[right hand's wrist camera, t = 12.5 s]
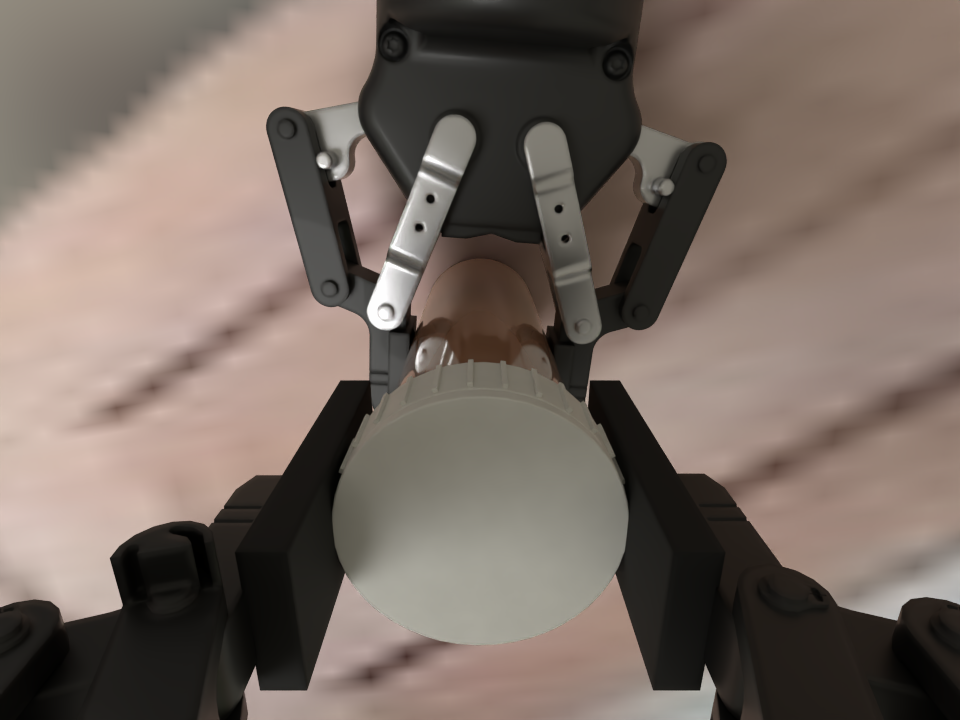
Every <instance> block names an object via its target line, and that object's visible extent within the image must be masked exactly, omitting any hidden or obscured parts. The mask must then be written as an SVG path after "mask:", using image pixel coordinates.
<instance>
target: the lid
mask: <svg viewBox="0 0 960 720" xmlns="http://www.w3.org/2000/svg"><path fill="white" fill-rule="evenodd" d="M339 473H341V474H342V475H341V478H340V480H339V483H338V486H337V489H336V492H335V495H334V502H333V508H332V524H333V534H334V542H335V548H336V551H337V554H338V558H339V561H340V563H341V565H342V567H343V569H344V571H345V573H346V575H347V577H348V578H349V580H350V581H351V582H352V584H353V585H354V587H355V588H356V590H357V591H358V592H359V593H360V594H361V595H362V596H363V598H364V599H365V600H366V601H367V602H368V603H369V604H371V605H372V606H373V607H374V608H375V609H376V610H377V611H379V612H380V613H381V614H383V615H384V616H386V617H387V618H389V619H390V620H391V621H393V622H395V623H397V624H398V625H400V626H402V627H404V628H406V629H408V630H410V631H413V632H415V633H418V634H420V635H423V636H425V637H429V638H433V639H436V640H440V641H444V642H450V643H456V644H465V645H497V644H504V643H512V642H516V641H520V640H525V639H529V638H532V637H535V636H538V635H541V634H543V633H546V632H548V631H550V630H553V629H555V628H557V627H559V626H561V625H563V624H564V623H566V622H568V621H569V620H571V619H572V618H574V617H576V616H577V615H578V614H579V613H581V612H582V611H583V610H585V609H586V608H587V607H588V606H590V604H591V603H592V602H593V601H594V600H595V599H596V598H597V597H598V596H599V595H600V594H601V593H602V592H603V590H604V589H605V588H606V587H607V585H608V584H609V583H610V581H611V580H612V578H613V576H614V574H615V573H616V571H617V569H618V567H619V565H620V562H621V560H622V557H623V554H624V552H625V545H626V537H627V528H628V518H629V509H628V501H627V497H626V493H625V489H624V485H623V484H625V479H624V477H623V475H622V473H621V470H620V468H619V466H618V464H617V461H616V459H615V454H614V452H613V449H612V447H611V445H610V443H609V441H608V438H607V436H606V434H605V432H604V429H603V427H602V425H601V424H598V425H596V423H595V421H594V420H593V418H592V416H591V414H590V412H589V409H588V407H587V405H586V403H585V402H584V401H582V402H581V403H580V402H579V401H578V400H577V399H576V398H575V397H574V396H572V395H571V394H570V393H569V392H568V391H567V390H566V389H565V386H564V384H563V383H561V382H559V384H556V383H555V382H553V381H552V380H550V379H548V378H546V377H544V376H542V375H540V374H538V373H537V370H536V369H533V368H532V369H531V371H529V370H526V369H523V368H520V367H516V366H511V365H507V364H506V361H500V363H489V362H474V360H473V359H470V360H468V363H461V364H455V365H449V366H445V367H442V365H441V364H440V365H437V366H436V369H434V370H431V371H429V372H426V373H424V374H422V375H419V376H417V377H415V378H413V377H412V376H410V377H408V378H407V381H406V383H405V384H403V385H401V386H400V387H398V388H397V389H396V390H394V391H393V392H392V393H391V394H388V393H385V394H384V395H383V397H382V399H381V402H380V404H379V405H378V406H377V407H376V408H375V409H374V411H373V412H372V414H371V415H368V414H366V415H365V417H364V419H363V421H362V423H361V426H360V428H359V430H358V433H357V435H356V437H355V439H354V438H353V440H352V442H351V445H350V447H349V449H348V451H347V454H346V456H345V458H344V460H343V463H342V465H341V467H340V469H339Z"/></svg>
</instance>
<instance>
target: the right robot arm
mask: <svg viewBox="0 0 960 720" xmlns="http://www.w3.org/2000/svg"><path fill="white" fill-rule="evenodd" d="M588 409H589V412H590V414H591V416H592V418H593V420H594V421H595V423H596V425H598V424H601V425H602V427H603V429H604V432H605V434H606V436H607V438H608V441H609V443H610V445H611V447H612V449H613V452H614V454H615V459H616V461H617V464H618V466H619V468H620V470H621V473H622V475H623V477H624V479H625V484H623V485H624V489H625V493H626V497H627V501H628V509H629V518H628V528H627V537H626V545H625V552H624V554H623V557H622V560H621V562H620V565H619V567H618V569H617V571H616V576H617V579H618V583H619V586H620V589H621V592H622V595H623V598H624V601H625V604H626V607H627V610H628V613H629V617H630V620H631V623H632V626H633V629H634V632H635V635H636V638H637V641H638V644H639V648H640V651H641V654H642V657H643V660H644V663H645V666H646V669H647V672H648V675H649V679H650V682H651V685H652V688H653V690H700V688H701V683H702V677H703V672H704V667H705V664H706V666H707V669H708V671H709V673H710V675H711V678H712V680H713V682H714V684H715V687H716V693H715V698H714V703H713V708H712V713H711V718H710V720H960V605H959V604H957V603H953V602H950V601H947V600H941V599H935V598H928V597H924V598H916V599H910V600H909V601H908V602H907V603H906V604H904V605H903V606H902V608H901V611H900V614H899V617H898V620H897V621H896V620H892V619H887V618H883V617H878V616H874V615H870V614H865V613H861V612H856V611H852V610H849V609H845V608H842V607H839V606H838V605H837V604H836V602H835V601H834V599H833V598H832V596H831V595H830V593H829V592H828V591H827V590H826V589H825V588H823V587H822V586H821V585H820V584H818V583H817V582H816V581H815V580H813V579H811V578H810V577H808V576H806V575H804V574H802V573H800V572H798V571H796V570H792V569H789V568H785V567H782V565H781V564H780V563H779V561H778V560H777V559H776V557H775V556H774V554H773V553H772V552H771V550H770V549H769V548H768V546H767V545H766V544H765V542H764V541H763V539H762V538H761V537H760V535H759V534H758V533H757V531H756V530H755V529H754V527H753V526H752V524H751V523H750V522H749V521H747V519H746V516H745V515H744V514H743V512H742V511H741V509H740V508H739V507H737V506H736V505H737V504H736V503H735V501H734V500H733V499H732V497H731V496H730V494H729V493H728V492H727V490H726V489H725V488H724V487H723V486H721V485H720V484H718V483H717V482H716V481H714V480H713V479H711V478H710V477H708V476H707V475H705V474H677V473H676V471H675V469H674V468H673V466H672V465H671V463H670V461H669V460H668V458H667V456H666V455H665V453H664V452H663V450H662V448H661V447H660V445H659V443H658V442H657V440H656V439H655V437H654V435H653V434H652V432H651V430H650V429H649V427H648V426H647V424H646V422H645V421H644V419H643V417H642V416H641V414H640V413H639V411H638V409H637V408H636V406H635V405H634V403H633V401H632V400H631V398H630V396H629V395H628V393H627V392H626V390H625V388H624V387H623V385H622V383H621V382H620V381H590V388H589V401H588ZM372 412H373V411H372V397H371V383H370V381H340V382H339V384H338V386H337V387H336V389H335V390H334V392H333V394H332V395H331V397H330V399H329V400H328V402H327V403H326V405H325V407H324V408H323V410H322V412H321V413H320V415H319V416H318V418H317V420H316V421H315V423H314V425H313V426H312V428H311V429H310V431H309V433H308V434H307V436H306V438H305V439H304V441H303V442H302V444H301V446H300V447H299V449H298V450H297V452H296V454H295V455H294V457H293V459H292V460H291V462H290V463H289V465H288V467H287V468H286V470H285V472H284V473H283V475H256V476H255V477H253V478H252V479H250V480H249V481H248V482H246V483H245V484H243V485H242V486H240V487H239V488H238V489H236V490H235V492H234V493H233V494H232V496H231V497H230V499H229V500H228V501H227V503H226V504H225V505H224V509H222V510H221V511H220V512H219V514H218V515H217V516H216V518H215V519H214V523H211V525H210V526H209V527H207V526H206V525H205V524H202V523H197V522H193V521H179V522H170V523H166V524H162V525H158V526H154V527H152V528H150V529H147V530H145V531H143V532H141V533H138V534H136V535H134V536H133V537H132V538H130V539H129V540H127V541H126V542H125V543H123V544H122V545H120V546H119V547H118V549H117V550H116V551H115V552H114V554H113V555H112V556H111V558H110V561H111V564H112V568H113V571H114V575H115V579H116V582H117V586H118V589H119V593H120V596H121V600H122V603H123V607H122V609H120V610H116V611H113V612H110V613H105V614H101V615H97V616H92V617H88V618H84V619H79V620H75V621H70V622H66V623H64V622H63V619H62V616H61V613H60V610H59V608H58V607H57V606H55V605H54V604H53V603H52V602H50V601H43V600H28V601H22V602H16V603H12V604H9V605H6V606H3V607H0V720H247V716H248V711H247V704H246V698H245V693H244V690H245V688H246V686H247V684H248V681H249V679H250V677H251V674H252V672H253V670H254V668H255V665H256V670H257V676H258V681H259V686H260V690H307V689H308V686H309V683H310V680H311V676H312V673H313V670H314V667H315V664H316V661H317V658H318V655H319V652H320V649H321V645H322V642H323V639H324V636H325V633H326V630H327V627H328V624H329V621H330V618H331V614H332V611H333V608H334V605H335V602H336V599H337V596H338V593H339V590H340V587H341V584H342V580H343V577H344V574H345V571H344V569H343V567H342V565H341V563H340V561H339V558H338V554H337V551H336V548H335V542H334V534H333V524H332V508H333V502H334V495H335V492H336V489H337V486H338V483H339V480H340V478H341V475H342V474H341V473H339V469H340V467H341V465H342V463H343V460H344V458H345V456H346V454H347V451H348V449H349V447H350V445H351V442H352V440H353V438H354V439H355V437H356V435H357V433H358V430H359V428H360V426H361V423H362V421H363V419H364V417H365V415H366V414H368V415H371V414H372Z"/></svg>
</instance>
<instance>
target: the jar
mask: <svg viewBox="0 0 960 720" xmlns="http://www.w3.org/2000/svg"><path fill="white" fill-rule="evenodd" d="M470 359H473V360H474V362H489V363H500V361H506V364H507V365H511V366H516V367H520V368H523V369H526V370H529V371H531V369H532V368H533V369H536V370H537V373H538V374H540V375H542V376H544V377H546V378H548V379H550V380H552V381H553V382H555V383H556V384H559V382H561V383H563V381H562V379H561V376H560V373H559V370H558V368H557V365H556V362H555V359H554V357H553V354H552V351H551V348H550V346H549V343H548V340H547V337H546V335H545V332H544V329H543V326H542V324H541V321H540V318H539V315H538V313H537V310H536V307H535V304H534V302H533V299H532V296H531V293H530V291H529V289H528V287H527V285H526V283H525V282H524V280H523V279H522V278H521V277H520V275H519V274H518V273H517V272H515V271H514V270H513V269H512V268H510V267H509V266H507V265H505V264H503V263H501V262H498V261H495V260H491V259H483V258H479V259H470V260H465V261H462V262H459V263H457V264H455V265H453V266H452V267H450V268H449V269H447V270H446V271H445V272H444V273H443V274H442V275H441V276H440V277H439V278H438V279H437V281H436V282H435V284H434V285H433V287H432V289H431V292H430V294H429V297H428V300H427V303H426V306H425V308H424V311H423V314H422V317H421V319H420V322H419V325H418V328H417V331H416V333H415V336H414V339H413V342H412V344H411V347H410V350H409V353H408V356H407V358H406V361H405V364H404V367H403V369H402V372H401V375H400V378H399V381H398V383H397V386H396V389H397V388H398V387H400V386H401V385H403V384H405V383H406V381H407V378H408V377H410V376H412V377H413V378H415V377H417V376H419V375H422V374H424V373H426V372H429V371H431V370H434V369H436V366H437V365H440V364H441V365H442V367H445V366H449V365H455V364H461V363H468V360H470ZM396 389H395V390H396Z"/></svg>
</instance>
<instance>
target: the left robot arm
mask: <svg viewBox="0 0 960 720" xmlns="http://www.w3.org/2000/svg"><path fill="white" fill-rule="evenodd" d="M643 1H644V0H377V28H376V54H375V60H374V63H373V67H372V70H371V73H370V75H369V77H368V79H367V81H366V83H365V85H364V86H363V88H362V90H361V93H360V96H359V101H358V102H354V103H349V104H344V105H338V106H333V107H328V108H323V109H317V110H312V111H302V110H298V109H294V108H290V107H279V108H277V109H275V110H274V111H273V112H271V114H270V115H269V117H268V119H267V124H266V130H267V134H268V138H269V141H270V145H271V149H272V152H273V156H274V159H275V163H276V166H277V170H278V174H279V177H280V181H281V184H282V188H283V192H284V195H285V199H286V202H287V206H288V209H289V213H290V217H291V220H292V224H293V227H294V231H295V234H296V238H297V242H298V245H299V249H300V252H301V256H302V259H303V263H304V267H305V270H306V274H307V277H308V281H309V285H310V288H311V292H312V294H313V296H314V298H315V299H316V300H317V301H318V302H319V303H320V304H322V305H324V306H327V307H336V306H339V307H342V308H344V309H347V310H349V311H351V312H354V313H356V314H358V315H359V316H360V317H362V318H363V319H364V321H365V322H366V324H367V325H368V328H369V332H370V367H369V371H370V373H369V381H370V383H371V397H372V406H373V408H374V409H375V408H376V407H377V406H378V405H379V404H380V402H381V399H382V397H383V395H384V394H385V393H388V394H391V393H392V392H393V391H394V390H395V389H396V386H397V383H398V381H399V378H400V375H401V372H402V369H403V367H404V364H405V361H406V358H407V356H408V353H409V350H410V347H411V344H412V342H413V339H414V336H415V333H416V321H417V316H412V315H411V302H412V299H413V297H414V295H415V292H416V290H417V287H418V285H419V283H420V280H421V278H422V275H423V273H424V270H425V268H426V266H427V263H428V261H429V259H430V256H431V254H432V252H433V249H434V247H435V244H436V242H437V240H438V237H439V235H440V233H442V237H453V238H471V237H476V236H481V235H486V234H495V235H497V236H500V237H503V238H506V239H509V240H511V241H514V242H520V243H533V244H539V247H540V251H541V255H542V259H543V262H544V266H545V269H546V273H547V277H548V281H549V285H550V289H551V294H552V298H553V302H554V306H555V310H556V313H555V321H554V326H547V332H546V337H547V340H548V343H549V346H550V348H551V351H552V354H553V357H554V359H555V362H556V365H557V368H558V370H559V373H560V376H561V379H562V381H563V384H564V386H565V389H566V390H567V391H568V392H569V393H570V394H571V395H572V396H574V397H575V398H576V399H577V400H578V401H579V402H580V403H581V402H582V401H584V402H585V397H586V392H587V385H588V379H589V372H590V365H591V359H592V352H593V348H594V345H595V344H596V342H597V341H598V339H599V338H601V337H602V336H603V335H605V334H607V333H609V332H612V331H616V330H620V329H623V328H627V327H630V328H632V329H635V330H643V329H646V328H649V327H650V326H652V325H653V324H654V323H655V321H656V320H657V318H658V316H659V314H660V312H661V309H662V307H663V305H664V303H665V301H666V298H667V296H668V294H669V292H670V290H671V287H672V285H673V283H674V281H675V279H676V276H677V274H678V272H679V270H680V268H681V265H682V263H683V261H684V259H685V257H686V254H687V252H688V250H689V248H690V245H691V243H692V241H693V239H694V237H695V234H696V232H697V230H698V228H699V226H700V223H701V221H702V219H703V217H704V215H705V212H706V210H707V208H708V206H709V204H710V201H711V199H712V197H713V195H714V193H715V190H716V188H717V186H718V184H719V182H720V179H721V177H722V175H723V173H724V171H725V168H726V163H727V159H726V154H725V152H724V150H723V149H722V147H720V146H719V145H718V144H716V143H712V142H687V141H684V140H681V139H679V138H676V137H673V136H671V135H668V134H665V133H662V132H660V131H657V130H654V129H652V128H649V127H646V126H643V125H642V119H641V113H640V110H639V107H638V105H637V102H636V98H635V95H634V89H633V66H634V60H635V54H636V48H637V41H638V34H639V28H640V21H641V14H642V8H643ZM366 136H367V138H368V139H369V141H370V142H371V144H372V146H373V147H374V149H375V150H376V152H377V153H378V155H379V157H380V158H381V160H382V161H383V163H384V164H385V166H386V168H387V169H388V171H389V172H390V174H391V175H392V177H393V178H394V180H395V182H396V183H397V185H398V186H399V188H400V189H401V191H402V193H403V194H404V196H405V197H406V199H407V203H406V206H405V208H404V211H403V213H402V216H401V218H400V221H399V224H398V226H397V229H396V231H395V234H394V236H393V239H392V242H391V244H390V247H389V250H388V253H387V258H386V261H385V263H384V266H383V269H382V271H381V274H378V273H376V272H374V271H372V270H369V269H367V268H365V267H362V265H361V261H360V256H359V252H358V248H357V244H356V240H355V236H354V232H353V228H352V224H351V220H350V215H349V211H348V207H347V203H346V199H345V195H344V191H343V187H342V183H341V179H345V178H347V177H348V176H349V175H350V174H351V173H352V172H353V170H354V167H355V149H356V146H357V144H358V143H359V141H360V140H361V139H362V138H364V137H366ZM627 158H629V159H630V160H631V161H632V163H633V165H634V168H635V179H634V183H633V191H634V194H635V196H636V197H637V199H638V200H640V201H641V202H643V205H642V208H641V210H640V212H639V215H638V217H637V220H636V222H635V224H634V227H633V229H632V232H631V234H630V237H629V239H628V241H627V244H626V246H625V249H624V251H623V253H622V256H621V258H620V261H619V263H618V266H617V268H616V270H615V273H614V275H613V278H612V280H611V282H610V285H607V286H603V287H600V288H596V289H594V285H593V280H592V274H591V271H592V265H591V259H590V254H589V250H588V245H587V240H586V236H585V231H584V226H583V221H582V217H581V210H582V209H583V208H584V207H585V206H586V205H587V204H588V202H589V201H590V200H591V199H592V198H593V197H594V196H595V195H596V193H597V192H598V191H599V190H600V189H601V188H602V187H603V185H604V184H605V183H606V182H607V181H608V180H609V179H610V177H611V176H612V175H613V174H614V173H615V172H616V171H617V170H618V168H619V167H620V166H621V165H622V164H623V163H624V162H625V160H626V159H627Z"/></svg>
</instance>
